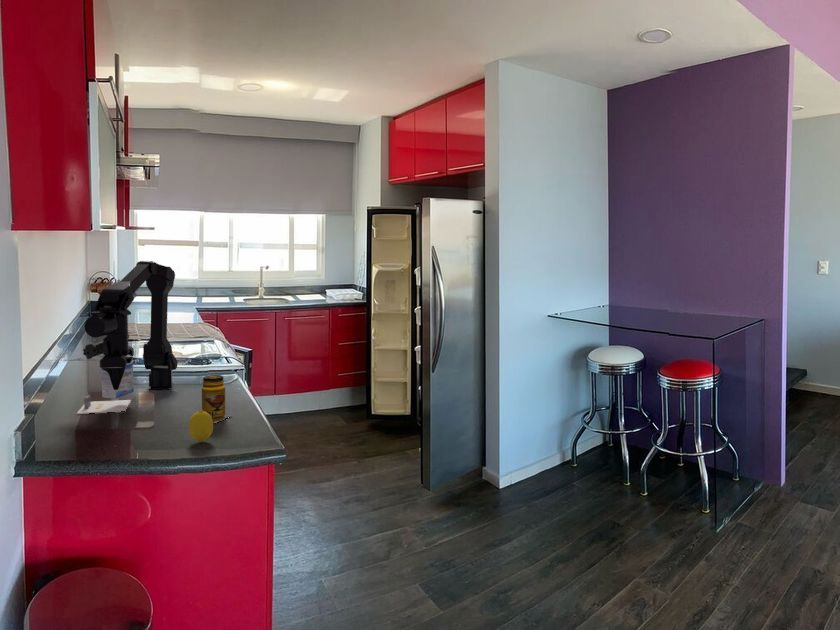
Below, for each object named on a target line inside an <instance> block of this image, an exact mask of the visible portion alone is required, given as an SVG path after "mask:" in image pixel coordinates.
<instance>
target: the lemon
mask: <svg viewBox="0 0 840 630" xmlns="http://www.w3.org/2000/svg"><path fill="white" fill-rule="evenodd" d="M213 430H214V424H213V421H212V417H211V416H210V414H208V413H207V412H205V411H203V410H202V409H199V410H198V411H196V412H195V413H193V414H192V415H191V417H190V419H189V422H188V431H189V435H190V436H191V438H193V439H194V440H196V441H198V442H199V443H203V442H204V441H205V440H207V439H209V438H210V436H211V435H212V434H213Z"/></svg>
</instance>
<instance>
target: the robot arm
mask: <svg viewBox="0 0 840 630" xmlns="http://www.w3.org/2000/svg"><path fill="white" fill-rule="evenodd" d="M175 279H176V272H175V271H174V270H173V268H172V267H171V266H166V265H162V264H159V263H157V262H156V261H155V262H154V261H153V260H140V261H138V262H136V264H135V266H134V267H133V269H131V270H130V271H129V272H128V273H127V274H126V275H125V276H124V277H123V278H122V279H121V280H120V281H118V282H115V283H112V284H110V285H108V286H106V287H105V288H103V289H102V291H100V294H99V296H98V299H97V302H96V303H95V306H94V309H93V311H91V314H90V317H88V318H87V319H86V321H85V323H84V324H83V325H84V331H85V332H86V334H87V335H88V336H89V337H91V338H95V339H96V338H100V337H103V339H102V341H98V342H96V343H93V342H91V343H88V344H87V343H86V345H85V346H84V348H82V351H83V353H82V354H83V356H85V357H86V360H90V359H92V358H95V357H97V356H99V355H103V357H102V358H101V359H100V360H99V368H102V369H103V370H105V371H106V372H108V374H109V377H110V380H111V383H112V386H113V389H114V390H118V388H119V386H120V383H121V380H122V377H123V375H124V372H125V369H126V367H127V365H126V364H127V363H132V360H133V359H134V349H135V348H133V347H132V346H131V345H129V339H130V334H129V318H128V316H130V315H132V312H131V310H129V309H128V308H130V306H131V305H132V303H133V301H134V299H135V298H134V295H135V293H136V292H137V291H138V289H139V288H140V287H141V286H143V284H144V283H145V285H146V288H147V289H148V291H149V292H150V294H151V295H150V333H149V334H150V337H149V339H148V341H147V342H146V343H144V344H143V346H142V349H143V351H142V352H143V353H142V360H143V364H144V370H150V372H149V373H148V387H149V390H168V389H169V390H170V389H173V386H174V382H173V371H175V370H177V369H178V360H177V358H176V357H175V355H174V354H173V347H172V344H171V343H170V341H169V340H168V337H167V336H168V302H169V300H168V298H169V296H168V295H169V293H170V292H171V290H172V289H173V288H174V282H175Z"/></svg>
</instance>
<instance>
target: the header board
mask: <svg viewBox="0 0 840 630" xmlns="http://www.w3.org/2000/svg"><path fill="white" fill-rule="evenodd" d="M91 400H92V399H91V394H86V395H85V397H84V398H83V402H84V403H83V405H82V406H81V407H80V408H79V409H78V411H77V412H76V415H90V414H89V413H95V414H108V413H107V412H115V413H122V412H121V411H125V412H126V411H127V410H126V409H128V408H129V406H130V404H131V402H132V399H125V400H124V399H121V400H120V399H119V400H118V399H117V400H99V401H94V400H93V401H91ZM128 405H129V406H128ZM127 407H128V408H127Z"/></svg>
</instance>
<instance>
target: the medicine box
mask: <svg viewBox="0 0 840 630" xmlns="http://www.w3.org/2000/svg"><path fill="white" fill-rule="evenodd" d="M126 365H127V367H126V369H125V372H124V375H123V377H122V380H121V383H120V386H119V388H118V390H114V389H113V386H112V383H111V380H110V377H109V374H108V372H106V371H105V370H103V369H102V368H101V369H100V370H101V371H100V373H101V375H100V376H101V392H102V394H101V395H102V398H106V399H115V400H116V399H117V400H118V399H119V398H121V397H124V396H126V395H128V394H133V393H134V391H135V390H134V389H135V388H134V384H135V383H134V363H132V362H131V363H127V364H126Z"/></svg>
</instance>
